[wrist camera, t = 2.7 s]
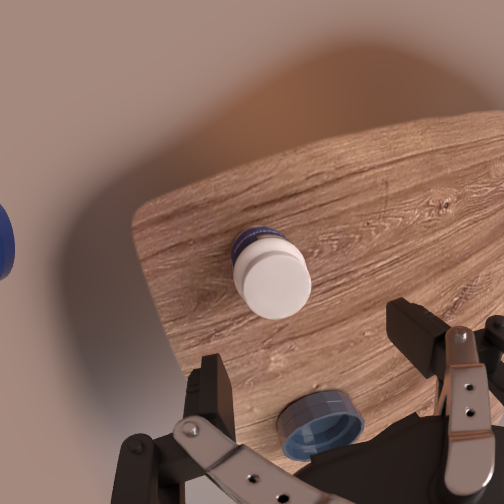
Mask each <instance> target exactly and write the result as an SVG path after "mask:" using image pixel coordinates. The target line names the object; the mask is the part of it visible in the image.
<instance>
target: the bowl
mask: <svg viewBox="0 0 504 504" xmlns="http://www.w3.org/2000/svg"><path fill="white" fill-rule="evenodd" d="M364 422H365V420H364V419H363V417H362V415H361V413H360V412H359V410H358V408H357V406H356V405H355V403H354V401H353V400H352V399H351V398H350V396H349V395H348V394H345V393H342V392H339V391H326V392H319V393H316V394H313V395H309V396H306V397H304V398H302V399H300V400H299V401H297V402H295V403H294V404H292V405H290V406H289V407H288V408H287V409H286V410H285V411H284V412H283V413H282V414H281V415H280V417H279V420H278V423H277V425H276V426H277V430H278V434H279V438H280V442H281V446H282V450H283V453H284V455H285V456H286V457H288V458H290V459H291V460H294V461H302V462H308V461H311V460H310V455H313V454H317V453H320V452H323V451H326V450H329V449H332V448H335V447H338V446H344V445H350V444H352V443H354V442H355V441H356V440H357V439H358V438H359V436H360V435H361V433H362V432H363V430H364Z"/></svg>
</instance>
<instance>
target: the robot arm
mask: <svg viewBox="0 0 504 504" xmlns="http://www.w3.org/2000/svg"><path fill="white" fill-rule="evenodd" d="M386 331H387V335H388V338H389V339H390V341H391V342H392V343H393V344H394V345H395V346H396V347H397V348H398V349H399V350H400V351H401V352H402V353H403V354H404V356H405V357H406V358H407V359H408V360H409V361H410V362H411V363H412V364H413V365H414V366H415V367H416V368H417V369H418V370H419V371H420V372H421V374H422V375H423V376H424V377H425V378H426V379H428V378H430V377H432V376H433V375H436V376H437V380H436V393H435V406H434V414H433V415H432V416H425V417H421V418H420V417H419V416H418V415H417V413H416V412H414V413H412V414H411V415H409V416H407V417H405V418H403V419H401V420H399V421H397V422H395V423H393V424H391V425H390V426H389V427H388V428H386V429H385V430H384V431H382V432H381V433H380V434H378V435H377V436H375V437H374V438H373V439H371V440H369V441H366V442H361V443H356V444H350V445H344V446H338V447H335V448H332V449H329V450H326V451H323V452H320V453H317V454H313V455H310V460H311V463H309V464H308V465H306V466H304V467H303V468H301V469H300V470H298V471H297V472H296V473H295V474H293V475H291V474H290V473H288V472H286V471H285V470H283V469H281V468H280V467H278V466H277V465H275V464H273V463H272V462H270V461H269V460H267V459H266V458H264V457H263V456H261V455H260V454H258V453H257V452H255V451H254V450H252V449H251V448H249V447H248V446H246V445H244V444H241V445H238V444H236V437H235V424H234V411H233V397H232V387H231V383H230V379H229V377H228V374H227V372H226V369H225V367H224V364H223V362H222V359H221V357H220V354H219V353H216V354H212V355H207V356H202V362H201V368H198V369H193V371H192V372H191V374H190V375H189V377H188V382H187V390H186V397H185V405H184V406H185V407H184V414H183V419H182V420H180V421H179V422H178V423H177V424H176V425H175V427H174V429H173V432H172V433H170V434H168V435H165V436H162V437H159V438H156V439H154V440H152V438H151V437H150V436H148V435H146V434H141V433H140V434H134V435H132V436H130V437H128V438H127V439H126V440H125V441H124V442H123V443H122V445H121V449H120V454H119V459H118V464H117V469H116V475H115V480H114V486H113V492H112V498H111V504H185V482H186V481H188V480H191V479H194V478H197V477H200V476H203V475H205V476H206V477H208V478H209V479H210V480H211V481H212V482H213V483H214V484H215V485H216V486H217V487H218V488H219V489H221V490H222V491H223V492H224V493H225V494H226V495H228V496H229V497H230V498H231V499H232V500H233V501H234V502H236V503H237V504H504V427H502V426H495V425H491V412H490V398H489V390H490V391H491V392H492V394H493V395H494V396H495V397H496V398H497V399H498V400H499V401H500V402H501V403H502V405H503V406H504V363H503V362H502V361H501V358H502V355H503V353H504V316H501V315H494V316H491V317H489V318H488V319H487V320H486V324H485V328H483V329H480V330H477V331H472V330H471V329H469V328H467V327H464V326H456V327H450V326H449V325H448V324H446V323H445V322H444V321H442V320H441V319H440V318H438V317H437V316H434V314H433V313H431V312H429V311H428V310H427V309H426V308H424V307H423V306H421V305H418V304H415V303H410V302H408V301H407V300H405V299H404V298H402V297H400V298H398V299H395V300H393V301H390V302H388V303H387V305H386Z"/></svg>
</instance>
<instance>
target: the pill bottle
mask: <svg viewBox="0 0 504 504" xmlns="http://www.w3.org/2000/svg"><path fill="white" fill-rule="evenodd" d="M231 258H232V268H233V278H234V283H235V286H236V289H237V291H238V292H239V294H240V295H241V297H242V298H243V299H244V300H245V302H246V304H247V305H248V307H249V308H250V309H251V310H252V311H253V312H254V313H256V314H257V315H259V316H261V317H264V318H267V319H283V318H286V317H289V316H291V315H293V314H295V313H296V312H297V311H299V310H300V309H301V308H302V307H303V306H304V304H305V303H306V301H307V300H308V297H309V295H310V291H311V279H310V275H309V272H308V270H307V269H306V264H305V260H304V258H303V256H302V254H301V253H300V251H299V250H298V249H297V248H296V247H295V246H294V245H293V244H292V243H291V242H290V241H289V240H288V239H287V238H286V237H285V236H284V235H282V234H281V233H280V232H279V231H278V230H276V229H275V228H273V227H270V226H267V225H254V226H251V227H248V228H246V229H245V230H243V231H242V232H241V233H240V234H239V235H238V236H237V237H236V239H235V241H234V243H233V246H232V251H231Z"/></svg>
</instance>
